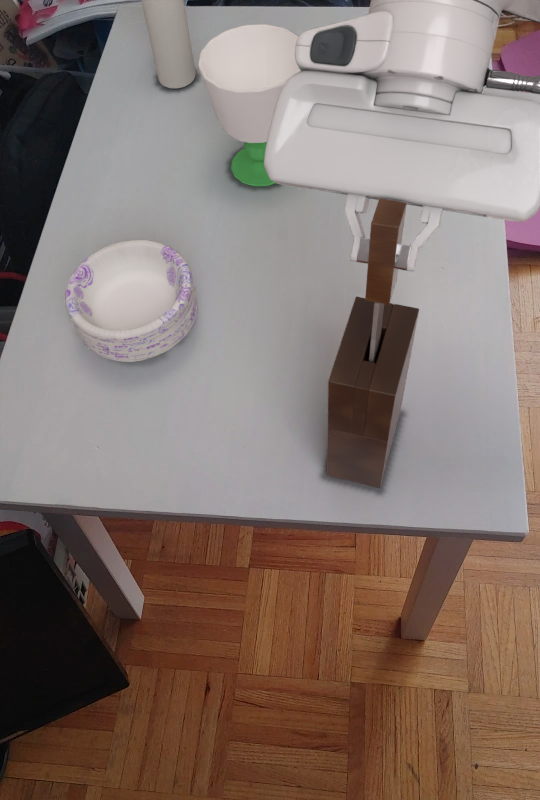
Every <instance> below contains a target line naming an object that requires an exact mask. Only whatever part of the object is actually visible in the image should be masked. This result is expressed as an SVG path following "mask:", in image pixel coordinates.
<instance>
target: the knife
mask: <svg viewBox="0 0 540 800" xmlns="http://www.w3.org/2000/svg"><path fill="white" fill-rule="evenodd" d="M406 211H407V203H406V202H400V201H393V200H387V199H381V198H380V199H379V200H377V204H376V207H375V210H374V214H373V217H372V220H371V222H370V234H369V239H370V244H369V257H368V264H367V271H366V283H365V296H364V298H365V300H366V301H372V302H375V303H374V312H373V323H372V333H371V344H370V354H369V362H373V363H375V360H376V356H377V353H378V350H379V346H380V338H381V329H382V320H383V311H384V304H388V305H389V304H390V303H391V301H392V297H393V294H394V291H395V288H396V284H397V281H398V280H397V279H398V272H399V269H396V268H395V262H396V258H397V257H398V255H397V252H398V248H399V244H401V245H402V242H403V235H404V227H405V218H406Z"/></svg>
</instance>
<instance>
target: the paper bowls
mask: <svg viewBox="0 0 540 800" xmlns="http://www.w3.org/2000/svg"><path fill="white" fill-rule="evenodd" d="M64 294H65V295H64V296H65V297H64V303H65V308H66V312H67V315H68V316H69V318H70V319H71V322H72V324H73V326H74V328H75V329H76V331H77V334H78V336H79V337H80V339H81V340H82V343H84V345H85V346H86V347H87V348H88V349H89V350H90V351H92V353H94V354H95V355H98V356H100V357H103V358H104V359H107V360H112V361H115V362H120V363H121V362H123V363H134V362H140V361H145V360H149V359H152V358H155V357H157V356H160V355H162V354H164V353H166V352H168V351H170V350H171V349H172V348H174V347H175V346H176V345H177V344H178V343H180V342H181V341H182V340H183V339H185V337H186V336H187V335H188V334H189V332H190V331H191V329H192V328H193V326H194V324H195V322H196V318H197V315H198V310H199V302H198V295H197V291H196V286H195V283H194V278H193V274H192V271H191V267H190V266H189V264H188V263H187V261H186V260H185V258H184V257H183V256H182V255H181V254H180V253H179V252H178V251H176V250H175V249H174V248H172V247H170V246H169V245H166V244H164V243H162V242H158V241H154V240H148V239H129V240H123V241H119V242H115V243H112V244H109V245H106V246H104V247H103V248H102V247H101V248H100V249H99V250H97V251H95V252H93V253H91V254H90V255H89V256H88V257H86V258H85V259H84V260H82V262H80V264H78V266H77V267H76V268H75V270H74V271H73V273H72V274H71V275H70V278H69V280H68V282H67V284H66V289H65V293H64Z"/></svg>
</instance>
